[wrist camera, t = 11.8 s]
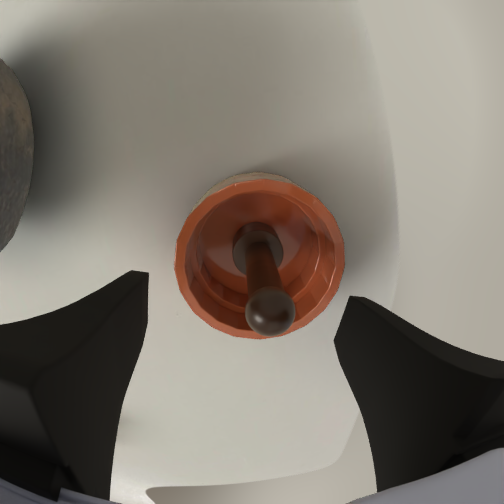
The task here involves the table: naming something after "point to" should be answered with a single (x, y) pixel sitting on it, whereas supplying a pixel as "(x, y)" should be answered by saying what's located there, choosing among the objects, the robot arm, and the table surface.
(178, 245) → the mixing bowl
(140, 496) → the table surface
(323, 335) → the table surface
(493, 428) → the robot arm
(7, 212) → the grey flower pot
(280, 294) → the dark brown pestle
